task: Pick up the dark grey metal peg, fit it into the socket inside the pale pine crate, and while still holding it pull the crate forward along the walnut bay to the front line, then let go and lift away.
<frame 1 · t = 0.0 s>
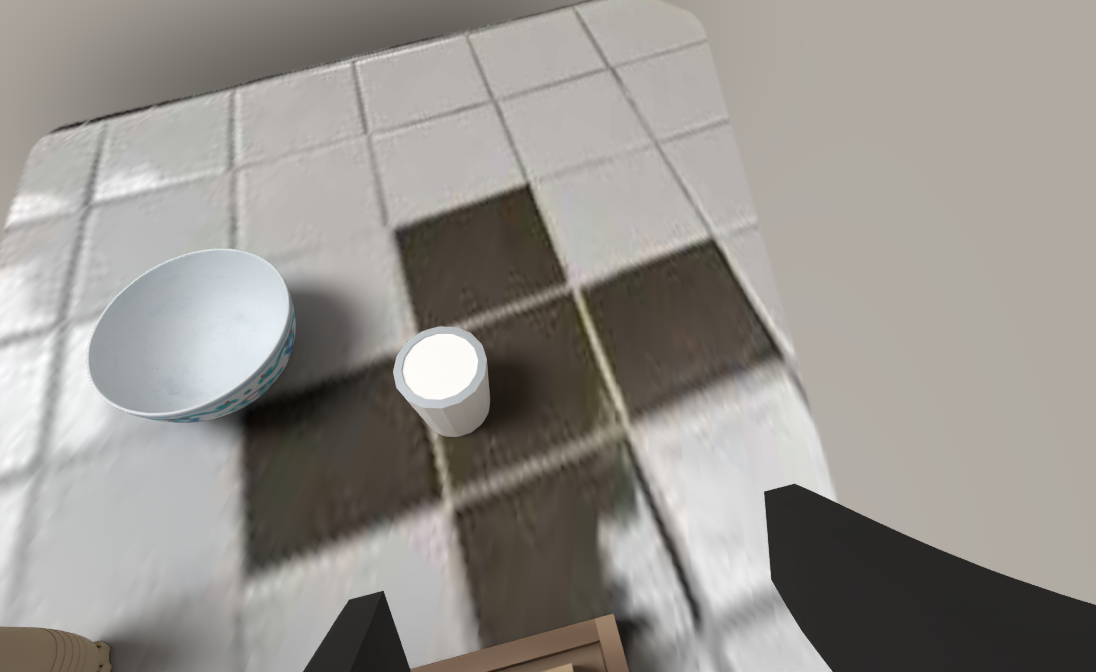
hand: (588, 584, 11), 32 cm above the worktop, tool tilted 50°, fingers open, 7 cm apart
handle: (93, 668, 39), on the worktop
white cylinder: (456, 406, 48), on the worktop
chinaware: (240, 372, 51), on the worktop
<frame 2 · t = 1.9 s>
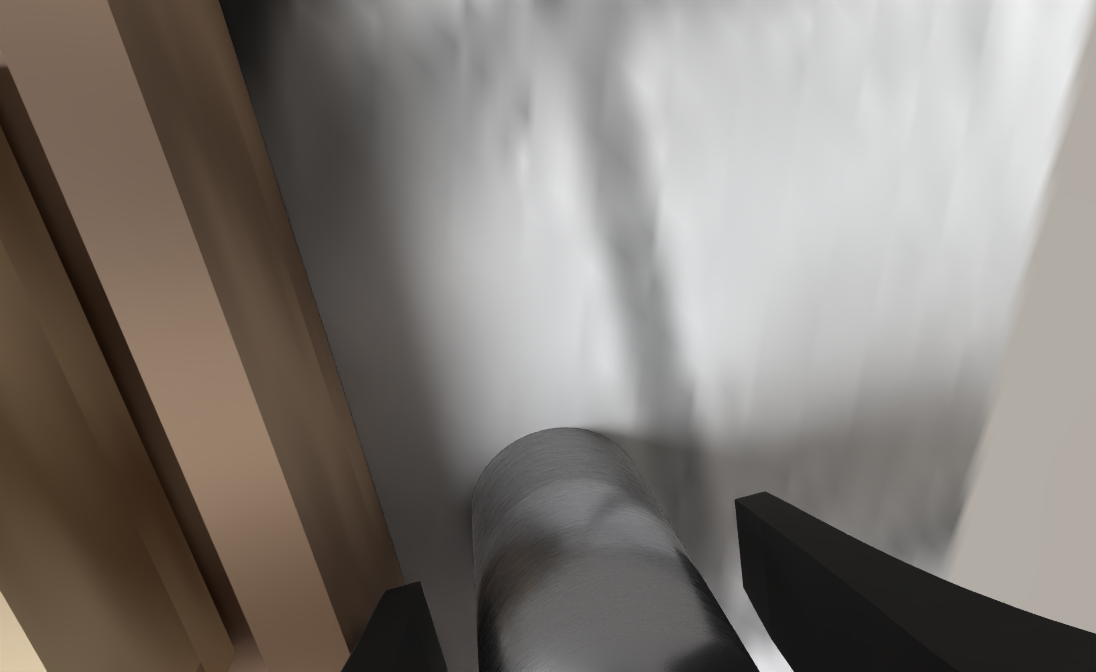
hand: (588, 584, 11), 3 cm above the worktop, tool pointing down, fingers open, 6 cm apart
peg: (558, 507, 13), on the worktop
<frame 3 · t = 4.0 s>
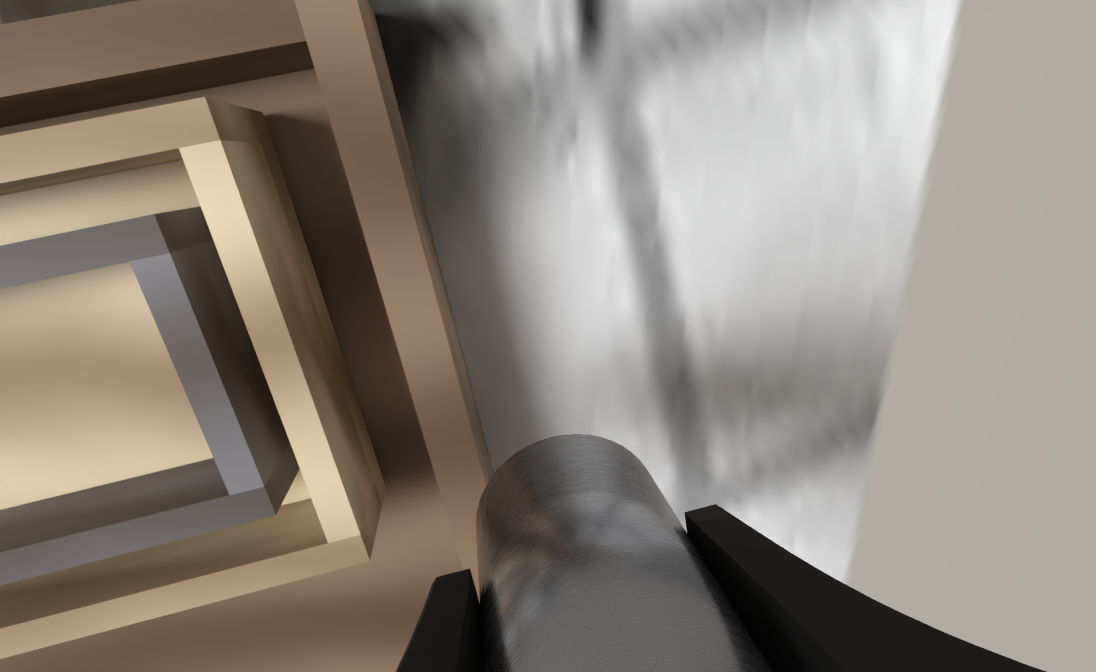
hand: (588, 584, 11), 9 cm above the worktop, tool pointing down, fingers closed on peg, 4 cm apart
crate: (1, 409, 14), point 3 cm above the worktop, slide at 0.0 cm
bay: (130, 471, 18), on the worktop
peg: (568, 518, 13), point 7 cm above the worktop, touching gripper
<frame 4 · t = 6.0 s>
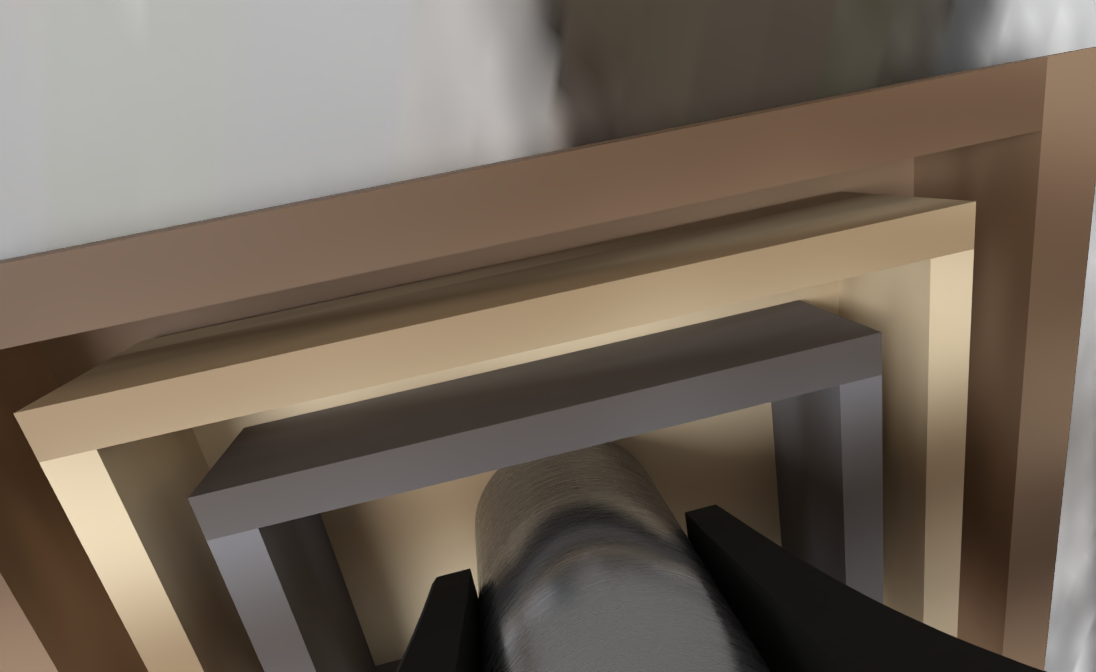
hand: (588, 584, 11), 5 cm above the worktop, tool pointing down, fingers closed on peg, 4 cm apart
crate: (571, 529, 12), point 3 cm above the worktop, slide at 0.0 cm
bay: (571, 568, 16), on the worktop
peg: (567, 519, 13), point 3 cm above the worktop, touching gripper
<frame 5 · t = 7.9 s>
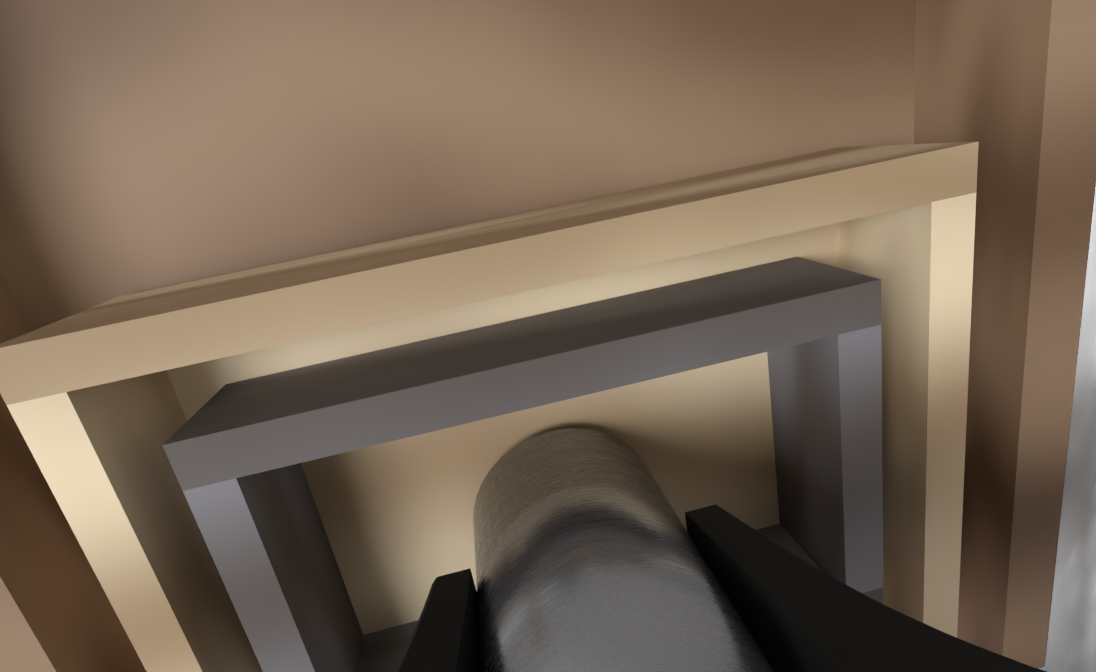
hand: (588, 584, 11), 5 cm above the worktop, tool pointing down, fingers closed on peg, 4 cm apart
crate: (562, 492, 12), point 3 cm above the worktop, slide at 7.0 cm, touching peg
bay: (514, 297, 14), on the worktop
peg: (566, 512, 13), point 3 cm above the worktop, touching crate, gripper
when the fingers open (5 cm above the worktop, at t = 9.2 s): peg stays where it is, resting on crate.
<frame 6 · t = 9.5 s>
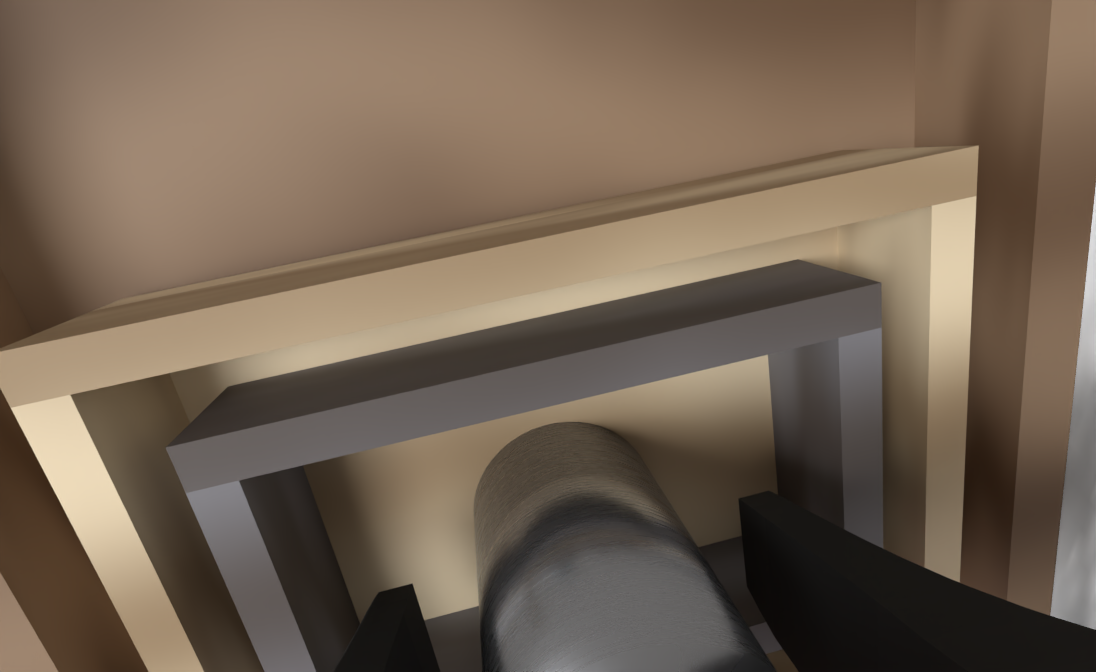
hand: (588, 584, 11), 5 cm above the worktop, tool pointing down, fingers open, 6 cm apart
crate: (563, 494, 12), point 3 cm above the worktop, slide at 7.1 cm, touching peg
bay: (514, 294, 14), on the worktop
peg: (564, 504, 13), point 2 cm above the worktop, touching crate
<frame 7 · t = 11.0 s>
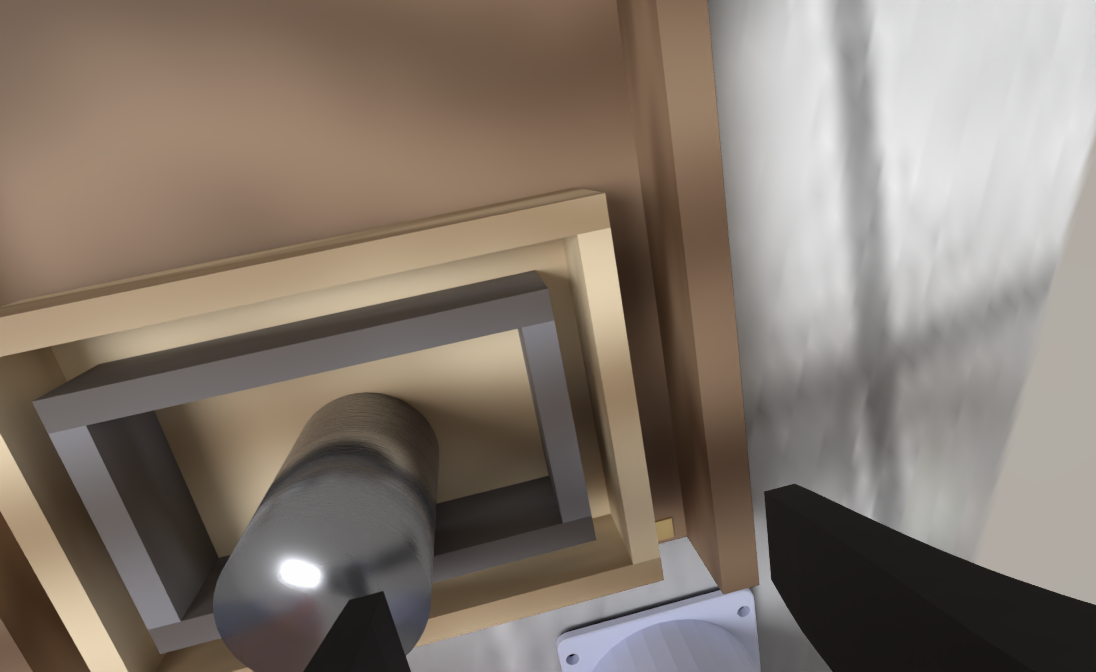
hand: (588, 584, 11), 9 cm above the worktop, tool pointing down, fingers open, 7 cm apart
crate: (357, 446, 16), point 3 cm above the worktop, slide at 7.1 cm, touching peg
bay: (340, 296, 18), on the worktop
peg: (369, 456, 17), point 2 cm above the worktop, touching crate
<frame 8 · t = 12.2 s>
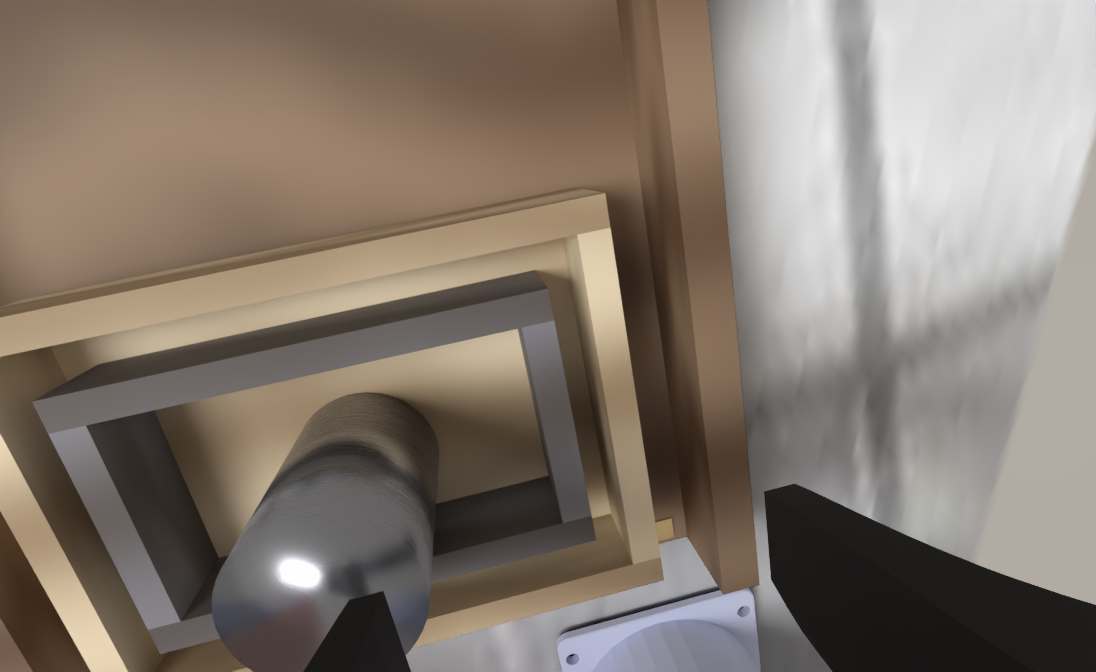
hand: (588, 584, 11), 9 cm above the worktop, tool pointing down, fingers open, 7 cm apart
crate: (357, 446, 16), point 3 cm above the worktop, slide at 7.1 cm, touching peg
bay: (340, 296, 18), on the worktop
peg: (369, 456, 17), point 2 cm above the worktop, touching crate
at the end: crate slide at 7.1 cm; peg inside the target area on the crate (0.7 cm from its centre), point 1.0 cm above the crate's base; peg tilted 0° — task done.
